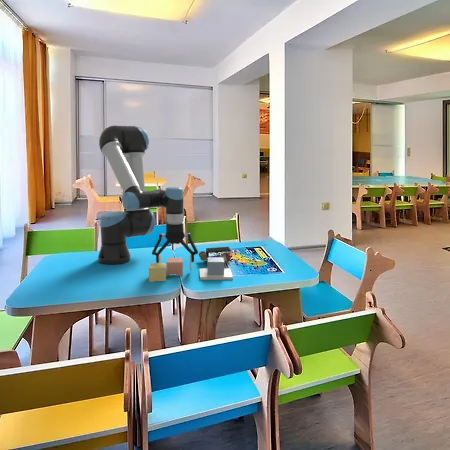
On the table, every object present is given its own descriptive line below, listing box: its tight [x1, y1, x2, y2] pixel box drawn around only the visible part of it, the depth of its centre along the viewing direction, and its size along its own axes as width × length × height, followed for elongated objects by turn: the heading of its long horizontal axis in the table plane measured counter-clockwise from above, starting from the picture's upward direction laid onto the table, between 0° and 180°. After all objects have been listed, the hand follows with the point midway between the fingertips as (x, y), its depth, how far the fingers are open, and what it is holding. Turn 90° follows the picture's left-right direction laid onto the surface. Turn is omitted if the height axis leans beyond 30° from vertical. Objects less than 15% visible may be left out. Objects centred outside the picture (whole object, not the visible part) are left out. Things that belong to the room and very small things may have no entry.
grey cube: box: [206, 256, 225, 275], centre depth 179 cm, size 7×7×6 cm
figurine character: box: [198, 246, 232, 265], centre depth 197 cm, size 7×8×15 cm
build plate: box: [198, 267, 234, 281], centre depth 179 cm, size 14×12×1 cm
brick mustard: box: [148, 262, 167, 283], centre depth 173 cm, size 7×7×6 cm
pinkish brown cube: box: [166, 257, 184, 276], centre depth 181 cm, size 7×7×6 cm
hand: (175, 269), depth 181 cm, fingers open, 13 cm apart
